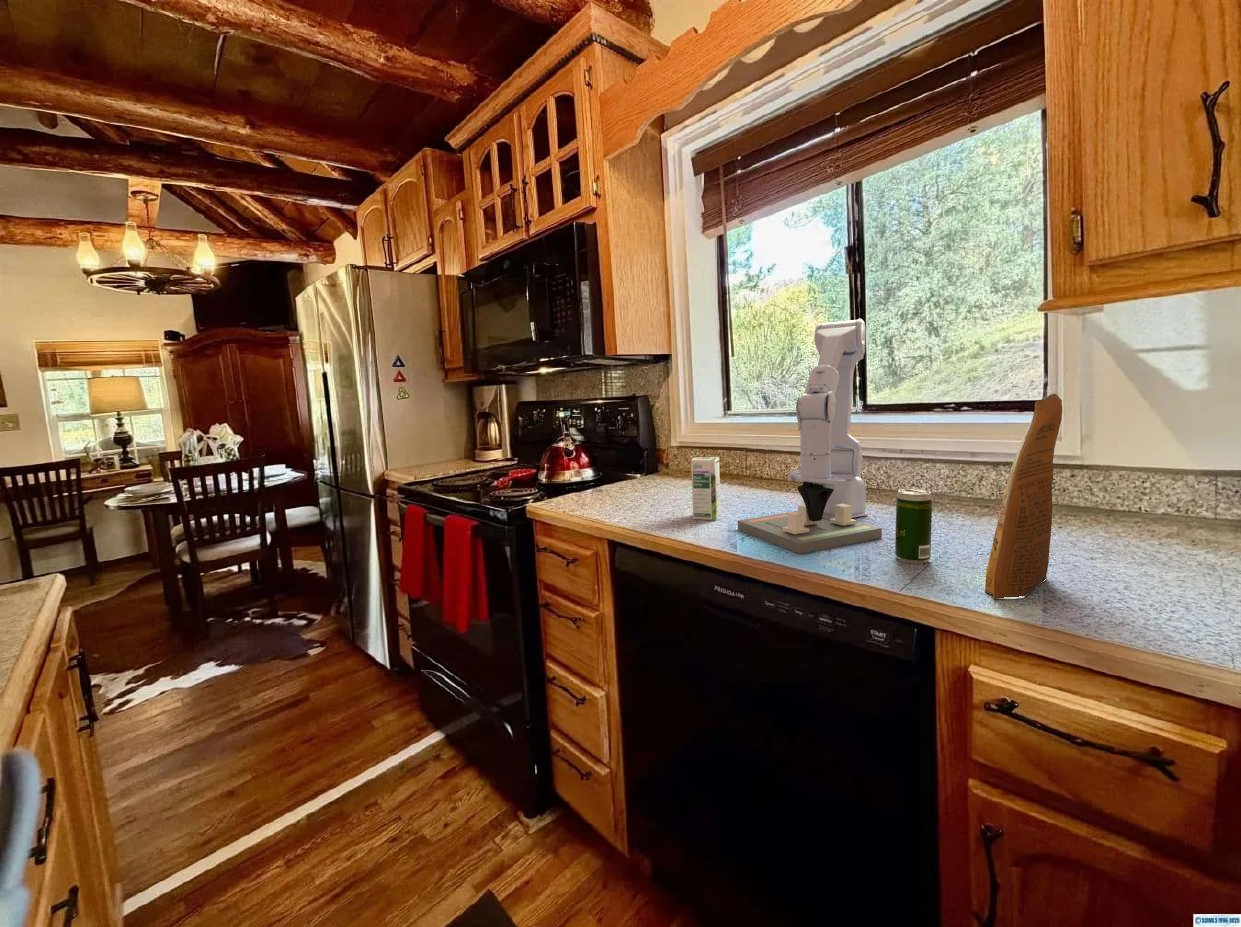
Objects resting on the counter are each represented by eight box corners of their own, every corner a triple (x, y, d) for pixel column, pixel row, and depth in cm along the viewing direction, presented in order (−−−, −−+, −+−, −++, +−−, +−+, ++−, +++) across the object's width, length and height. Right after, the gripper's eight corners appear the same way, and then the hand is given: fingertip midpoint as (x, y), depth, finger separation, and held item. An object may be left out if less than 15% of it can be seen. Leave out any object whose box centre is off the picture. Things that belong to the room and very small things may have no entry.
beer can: (937, 561, 92) (939, 492, 90) (916, 567, 89) (918, 496, 88) (908, 553, 96) (910, 487, 95) (888, 558, 94) (889, 491, 92)
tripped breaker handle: (807, 519, 114) (807, 502, 113) (819, 523, 110) (819, 505, 110) (793, 521, 112) (793, 504, 112) (805, 525, 109) (805, 508, 109)
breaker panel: (810, 517, 125) (810, 508, 124) (881, 537, 106) (881, 527, 106) (737, 529, 117) (737, 520, 117) (800, 553, 99) (799, 543, 99)
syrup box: (692, 519, 128) (690, 459, 126) (698, 514, 133) (696, 455, 131) (716, 520, 126) (714, 459, 124) (721, 514, 131) (719, 455, 129)
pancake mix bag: (1069, 576, 82) (1082, 392, 78) (1027, 612, 71) (1040, 398, 67) (1017, 565, 88) (1026, 393, 84) (970, 598, 76) (979, 399, 72)
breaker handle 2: (843, 519, 112) (843, 502, 112) (856, 523, 109) (856, 505, 108) (829, 521, 111) (829, 504, 110) (842, 525, 108) (843, 508, 107)
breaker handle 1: (796, 527, 108) (796, 510, 107) (809, 531, 105) (809, 513, 104) (782, 530, 107) (782, 512, 106) (794, 534, 103) (794, 516, 103)
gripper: (775, 452, 112) (776, 515, 114) (826, 459, 99) (825, 531, 101) (802, 449, 115) (802, 511, 117) (855, 455, 101) (854, 526, 103)
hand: (815, 520), depth 109 cm, fingers closed
